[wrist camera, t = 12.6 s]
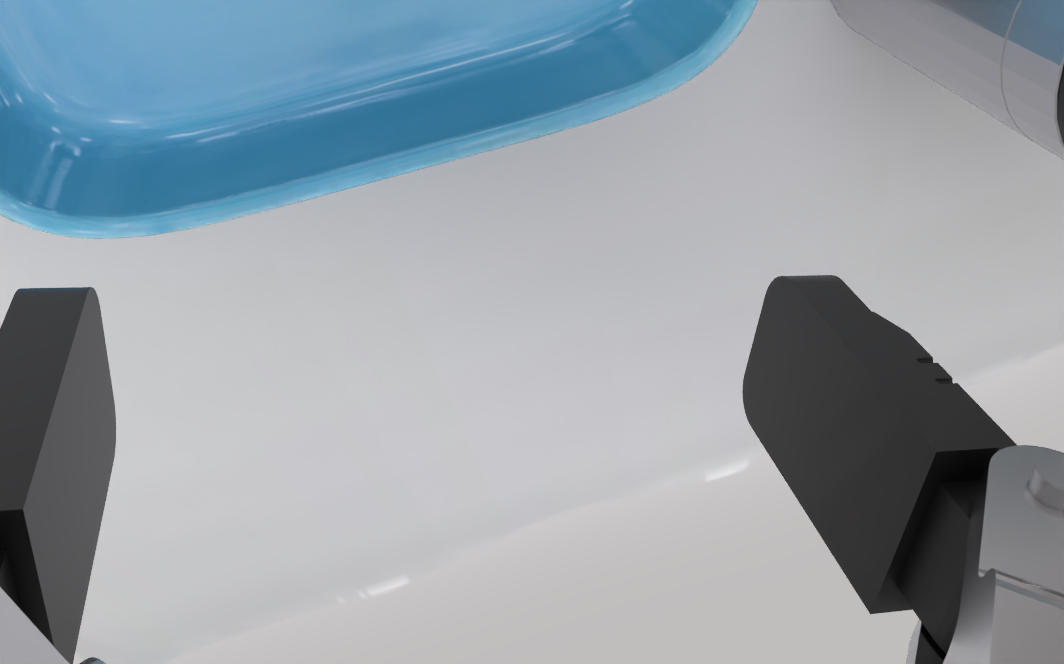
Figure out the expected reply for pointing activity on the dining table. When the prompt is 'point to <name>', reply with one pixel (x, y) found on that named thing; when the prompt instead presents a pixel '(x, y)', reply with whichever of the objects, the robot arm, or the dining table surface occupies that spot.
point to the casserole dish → (305, 95)
